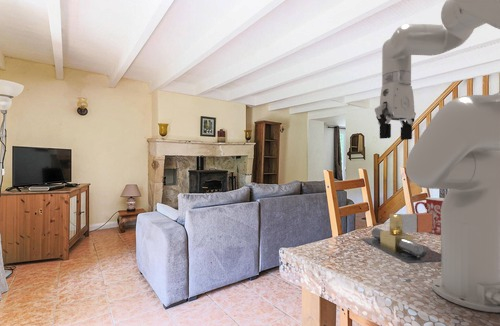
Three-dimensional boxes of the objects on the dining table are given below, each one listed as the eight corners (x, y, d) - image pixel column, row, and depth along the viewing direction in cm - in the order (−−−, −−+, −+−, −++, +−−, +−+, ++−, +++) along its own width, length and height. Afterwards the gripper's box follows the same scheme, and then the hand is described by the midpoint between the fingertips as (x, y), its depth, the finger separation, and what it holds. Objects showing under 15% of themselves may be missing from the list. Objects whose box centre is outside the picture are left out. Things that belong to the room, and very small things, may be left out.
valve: (452, 260, 74) (452, 242, 74) (407, 263, 72) (407, 244, 72) (396, 238, 95) (396, 224, 96) (361, 240, 93) (361, 225, 93)
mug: (453, 232, 104) (453, 198, 104) (453, 237, 97) (453, 201, 97) (416, 227, 112) (416, 196, 112) (413, 231, 105) (413, 198, 105)
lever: (394, 234, 81) (394, 215, 81) (387, 231, 85) (387, 213, 85) (433, 232, 83) (433, 214, 83) (424, 229, 87) (424, 212, 87)
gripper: (388, 73, 71) (388, 136, 71) (426, 82, 78) (426, 139, 78) (365, 80, 77) (365, 138, 77) (402, 88, 85) (402, 140, 85)
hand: (395, 138), depth 78 cm, fingers open, 9 cm apart
